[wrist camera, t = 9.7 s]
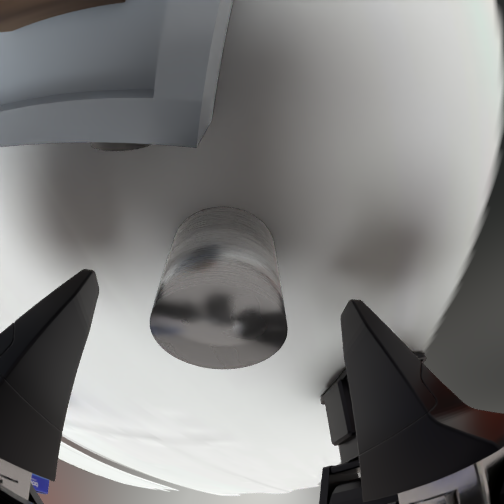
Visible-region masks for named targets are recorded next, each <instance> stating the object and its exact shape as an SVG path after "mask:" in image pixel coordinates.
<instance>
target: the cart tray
mask: <svg viewBox="0 0 504 504" xmlns="http://www.w3.org/2000/svg"><path fill="white" fill-rule="evenodd" d="M232 4H233V0H126V1H125V2H124V3H116V4H109V5H103V6H97V7H92V8H87V9H82V10H78V11H73V12H69V13H65V14H62V15H58V16H54V17H51V18H48V19H44V20H41V21H38V22H35V23H32V24H30V25H27V26H24V27H21V28H19V29H16V30H14V31H11V32H0V147H6V146H16V145H29V144H45V143H72V142H91V146H92V147H93V148H95V149H98V150H103V151H125V150H133V149H139V148H143V147H147V146H149V145H152V144H156V145H170V146H182V147H193V148H197V146H198V144H199V142H200V140H201V139H202V137H203V135H204V133H205V131H206V130H207V128H208V126H209V125H210V123H211V121H212V115H213V109H214V102H215V95H216V89H217V83H218V77H219V71H220V65H221V59H222V54H223V48H224V43H225V38H226V33H227V28H228V23H229V18H230V13H231V8H232Z"/></svg>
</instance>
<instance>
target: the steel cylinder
mask: <svg viewBox="0 0 504 504" xmlns="http://www.w3.org/2000/svg"><path fill="white" fill-rule="evenodd" d="M150 329H151V332H152V335H153V337H154V338H155V340H156V341H157V343H158V344H159V345H160V346H161V347H162V348H163V349H164V350H165V351H167V352H168V353H169V354H171V355H172V356H174V357H176V358H178V359H180V360H182V361H184V362H187V363H189V364H192V365H196V366H200V367H205V368H212V369H235V368H242V367H247V366H251V365H254V364H257V363H259V362H262V361H264V360H266V359H267V358H269V357H271V356H272V355H274V354H275V353H276V352H277V351H278V350H279V349H280V348H281V346H282V345H283V343H284V342H285V340H286V337H287V330H288V329H287V321H286V315H285V308H284V301H283V295H282V288H281V282H280V276H279V269H278V263H277V257H276V251H275V245H274V240H273V237H272V235H271V233H270V231H269V230H268V228H267V227H266V226H265V224H264V223H263V222H262V221H260V220H259V219H258V218H257V217H255V216H253V215H252V214H250V213H248V212H246V211H243V210H240V209H236V208H231V207H214V208H208V209H205V210H202V211H199V212H197V213H195V214H193V215H192V216H190V217H189V218H188V219H186V220H185V221H184V222H183V223H182V224H181V226H180V227H179V229H178V230H177V232H176V235H175V237H174V240H173V243H172V246H171V249H170V252H169V256H168V259H167V262H166V265H165V268H164V271H163V275H162V278H161V281H160V285H159V288H158V291H157V295H156V298H155V302H154V305H153V309H152V313H151V317H150Z"/></svg>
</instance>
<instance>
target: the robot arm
mask: <svg viewBox="0 0 504 504" xmlns="http://www.w3.org/2000/svg"><path fill="white" fill-rule="evenodd" d="M98 295H99V286H98V282H97V278H96V274H95V272H94V271H93V270H88V269H83V270H82V271H80V272H79V273H77V274H76V275H75V276H73V277H72V278H70V279H69V280H68V281H66V282H65V283H64V284H62V285H61V286H59V287H58V288H57V289H55V290H54V291H53V292H51V293H50V294H49V295H48V296H46V297H45V298H44V299H42V300H41V301H40V302H38V303H37V304H36V305H35V306H33V307H32V308H31V309H30V310H28V311H27V312H26V313H25V314H23V315H22V316H21V317H20V318H19V319H17V320H16V321H15V323H12V324H11V325H10V326H9V327H8V328H6V329H5V330H4V331H3V332H2V333H0V504H43V502H42V500H41V499H40V497H39V496H38V494H37V492H36V490H35V489H34V487H33V485H32V483H31V477H32V473H33V474H35V475H38V476H40V477H43V478H46V479H48V480H51V481H55V477H56V469H57V460H58V455H59V448H60V443H61V437H62V431H63V426H64V421H65V416H66V412H67V408H68V403H69V399H70V395H71V391H72V387H73V384H74V380H75V376H76V373H77V369H78V366H79V363H80V359H81V356H82V353H83V350H84V347H85V343H86V340H87V337H88V334H89V331H90V327H91V323H92V319H93V314H94V310H95V306H96V302H97V299H98ZM341 328H342V340H343V352H344V360H345V365H346V369H345V370H344V372H343V373H342V374H341V375H340V376H339V378H338V379H337V380H336V381H335V382H334V384H333V385H332V386H331V387H330V388H329V389H328V391H327V392H326V393H325V394H324V395H323V396H322V397H321V404H325V406H326V411H327V417H328V423H329V429H330V435H331V441H332V444H333V445H335V446H336V445H339V451H340V457H341V464H340V465H336V466H328V467H324V468H323V471H322V479H321V491H320V501H319V504H504V414H503V413H497V412H490V411H484V410H478V409H474V408H471V407H469V406H468V405H466V404H465V403H463V402H462V401H461V400H460V399H459V398H458V397H457V396H456V395H455V394H454V393H453V392H452V391H451V390H449V389H448V388H447V387H446V386H445V385H444V384H443V383H442V382H441V381H440V380H439V379H438V378H437V377H436V376H435V375H434V374H433V373H432V372H431V371H430V370H429V369H428V368H427V367H426V366H425V365H424V364H423V362H424V361H425V360H426V356H425V354H424V353H417V354H414V353H413V352H412V351H411V350H410V349H409V348H408V347H407V346H406V345H405V344H404V343H403V342H402V341H401V340H400V339H399V338H398V337H397V336H396V335H395V334H394V333H393V332H392V331H391V330H390V328H389V327H388V326H387V325H386V324H385V323H384V322H383V321H382V320H381V319H380V318H379V317H378V316H377V315H376V314H375V313H374V312H373V311H372V310H371V309H370V308H369V307H368V306H367V305H366V304H365V303H364V302H362V301H361V300H355V299H352V300H350V301H349V302H348V304H347V306H346V307H345V309H344V311H343V313H342V315H341ZM359 472H360V473H361V477H360V478H359V477H358V474H357V473H359Z"/></svg>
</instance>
